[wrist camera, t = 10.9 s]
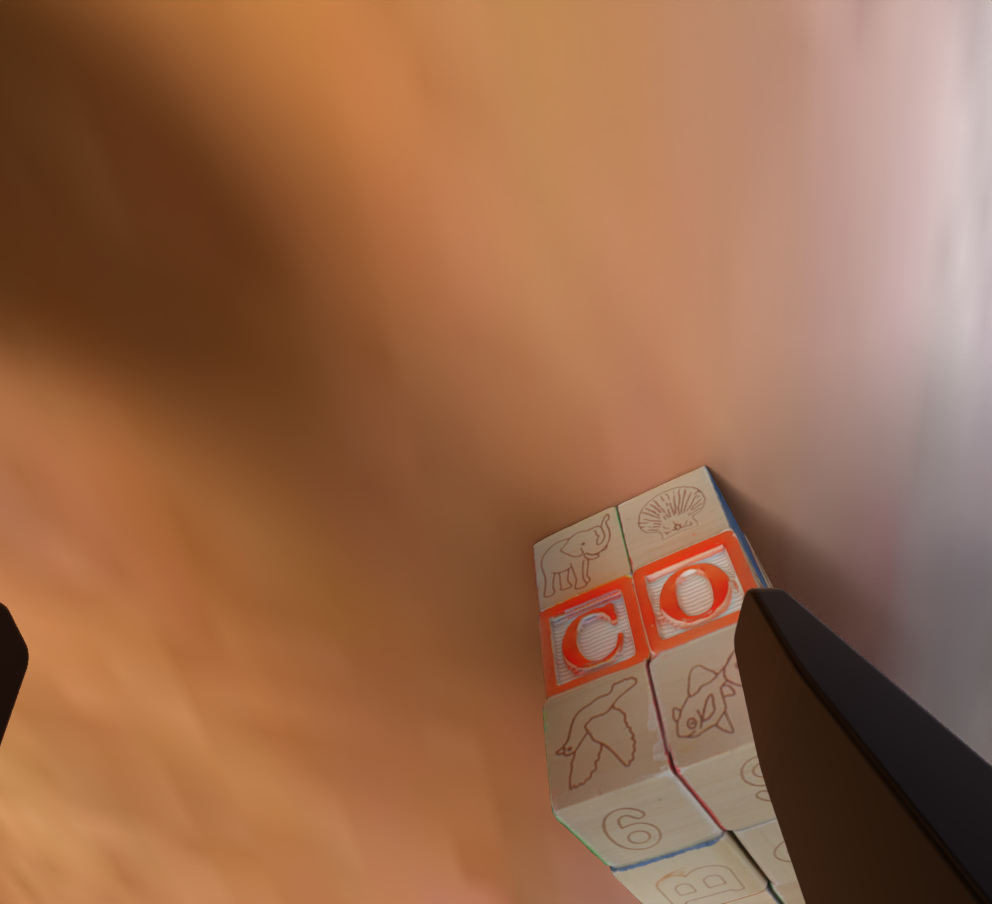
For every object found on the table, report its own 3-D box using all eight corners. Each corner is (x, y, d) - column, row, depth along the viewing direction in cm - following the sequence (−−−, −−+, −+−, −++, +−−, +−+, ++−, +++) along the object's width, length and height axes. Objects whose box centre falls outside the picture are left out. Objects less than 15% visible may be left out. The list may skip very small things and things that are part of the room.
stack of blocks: (524, 539, 25) (560, 964, 15) (704, 456, 23) (888, 870, 13) (751, 839, 35) (864, 1207, 25) (886, 797, 34) (1066, 1172, 23)
